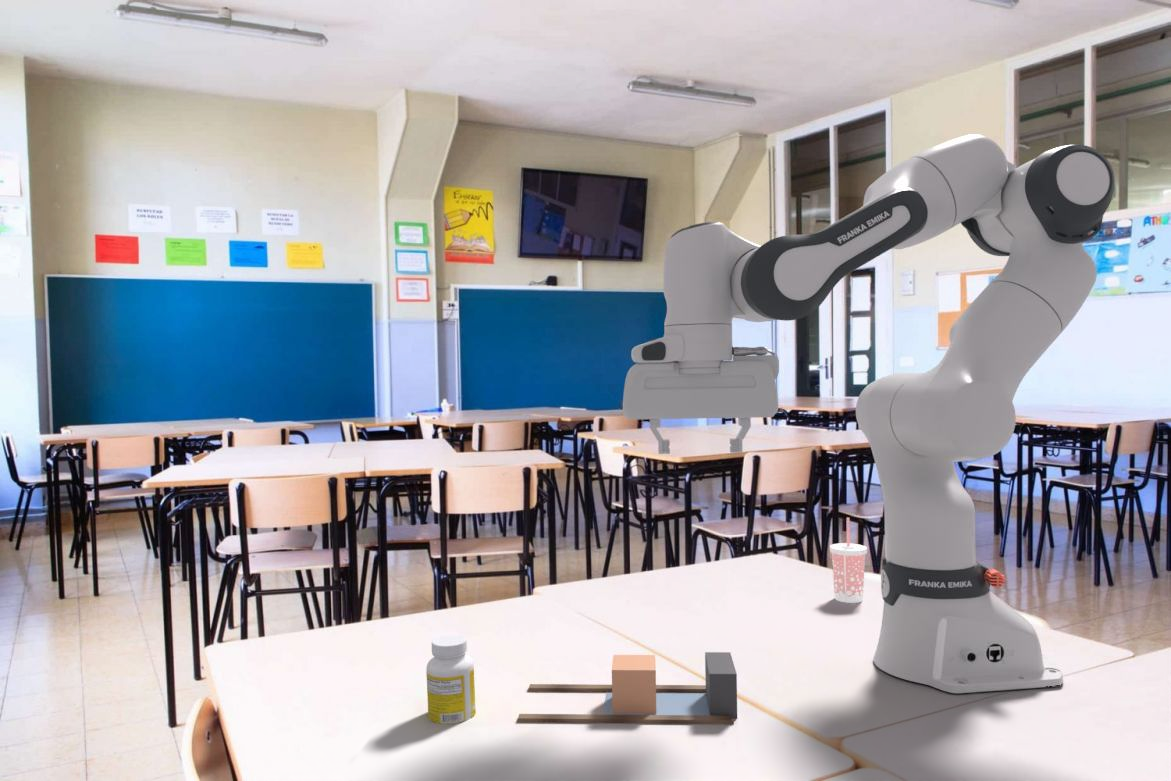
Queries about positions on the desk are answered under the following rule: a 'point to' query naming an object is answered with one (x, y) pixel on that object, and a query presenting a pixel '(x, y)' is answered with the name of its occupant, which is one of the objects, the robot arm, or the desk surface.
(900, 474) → the robot arm
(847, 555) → the beverage cup
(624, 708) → the terracotta cube
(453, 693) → the supplement bottle
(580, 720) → the guide rails
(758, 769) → the desk surface
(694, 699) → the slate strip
